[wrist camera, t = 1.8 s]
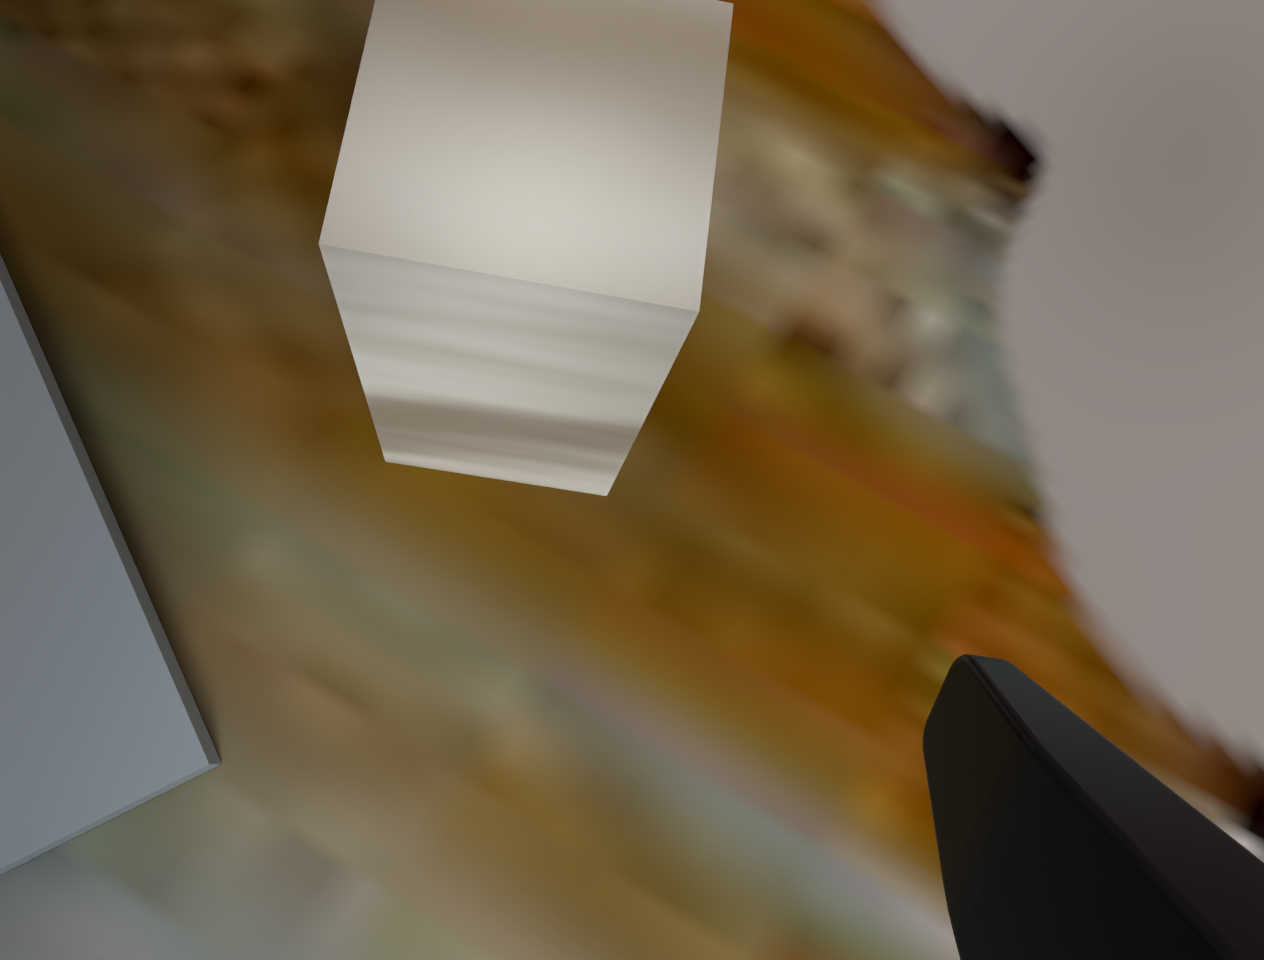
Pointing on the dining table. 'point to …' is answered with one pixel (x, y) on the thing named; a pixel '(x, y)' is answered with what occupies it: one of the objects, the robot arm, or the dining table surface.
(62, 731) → the slate board
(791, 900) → the dining table surface
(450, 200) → the cream block
